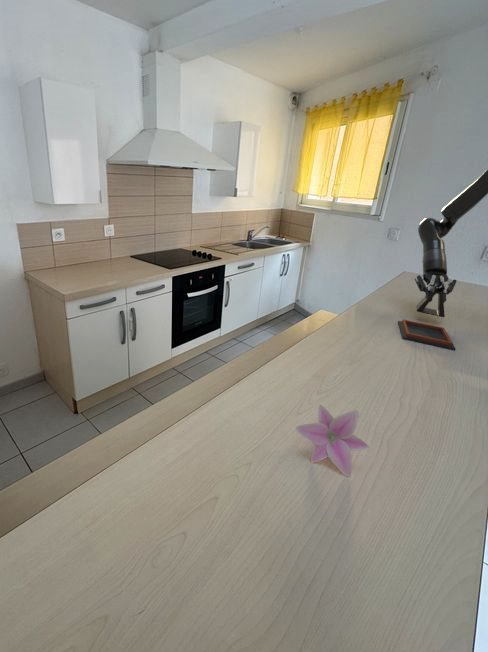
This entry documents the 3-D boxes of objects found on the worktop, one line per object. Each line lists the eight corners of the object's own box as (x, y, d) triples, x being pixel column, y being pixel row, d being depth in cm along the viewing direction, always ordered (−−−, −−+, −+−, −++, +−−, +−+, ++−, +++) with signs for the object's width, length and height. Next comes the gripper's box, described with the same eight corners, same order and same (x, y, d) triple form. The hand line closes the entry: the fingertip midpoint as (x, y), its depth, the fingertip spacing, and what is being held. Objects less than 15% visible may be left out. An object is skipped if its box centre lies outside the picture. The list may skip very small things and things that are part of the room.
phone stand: (416, 311, 126) (426, 282, 121) (415, 306, 130) (425, 278, 126) (444, 317, 121) (456, 287, 117) (443, 312, 126) (454, 283, 121)
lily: (283, 443, 67) (293, 429, 60) (316, 405, 72) (329, 388, 64) (333, 491, 62) (351, 483, 54) (366, 447, 66) (387, 434, 59)
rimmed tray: (444, 332, 118) (446, 327, 118) (454, 350, 106) (457, 345, 105) (397, 322, 124) (399, 317, 123) (402, 338, 112) (404, 333, 111)
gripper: (418, 256, 126) (419, 295, 120) (460, 260, 123) (463, 300, 117) (410, 265, 133) (410, 303, 127) (449, 269, 130) (452, 308, 124)
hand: (436, 301), depth 122 cm, fingers closed on phone stand, 3 cm apart
